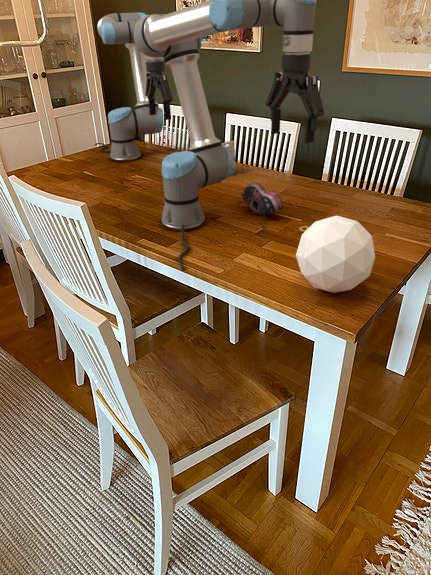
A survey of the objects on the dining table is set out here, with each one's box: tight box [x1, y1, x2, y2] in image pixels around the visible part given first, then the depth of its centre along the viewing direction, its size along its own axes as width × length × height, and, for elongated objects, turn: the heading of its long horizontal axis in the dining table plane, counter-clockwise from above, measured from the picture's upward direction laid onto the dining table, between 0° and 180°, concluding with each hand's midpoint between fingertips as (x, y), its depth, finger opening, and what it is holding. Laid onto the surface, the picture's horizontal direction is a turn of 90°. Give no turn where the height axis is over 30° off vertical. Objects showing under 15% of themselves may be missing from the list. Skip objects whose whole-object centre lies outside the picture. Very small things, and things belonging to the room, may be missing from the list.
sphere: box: [295, 215, 376, 294], centre depth 113 cm, size 19×20×20 cm
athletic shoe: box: [238, 182, 284, 217], centre depth 160 cm, size 11×22×12 cm
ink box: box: [221, 140, 236, 176], centre depth 195 cm, size 8×5×15 cm, turn 125°
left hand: (160, 117), depth 186 cm, fingers open, 13 cm apart
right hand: (291, 137), depth 125 cm, fingers open, 13 cm apart
